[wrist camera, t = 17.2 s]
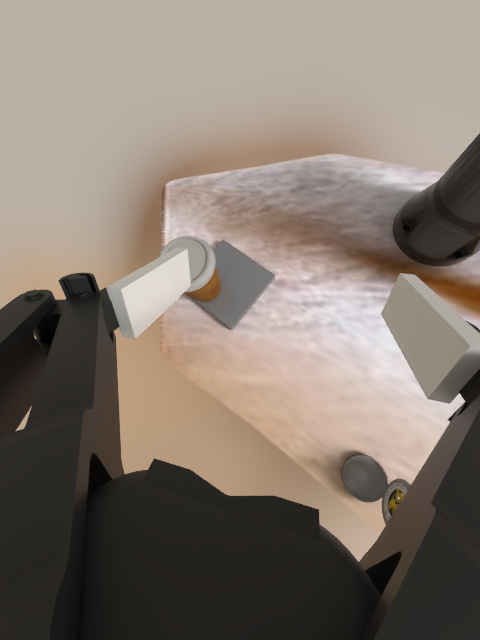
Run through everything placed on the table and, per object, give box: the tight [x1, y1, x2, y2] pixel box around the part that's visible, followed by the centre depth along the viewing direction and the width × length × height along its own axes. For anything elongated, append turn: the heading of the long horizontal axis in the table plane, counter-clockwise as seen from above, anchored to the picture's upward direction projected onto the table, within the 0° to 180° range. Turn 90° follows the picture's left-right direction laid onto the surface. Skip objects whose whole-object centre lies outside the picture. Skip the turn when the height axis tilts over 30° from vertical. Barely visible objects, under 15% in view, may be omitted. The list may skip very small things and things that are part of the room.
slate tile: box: [190, 240, 275, 330], centre depth 46 cm, size 14×14×2 cm
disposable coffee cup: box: [159, 236, 221, 302], centre depth 40 cm, size 10×10×12 cm
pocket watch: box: [342, 455, 411, 525], centre depth 31 cm, size 8×8×10 cm
